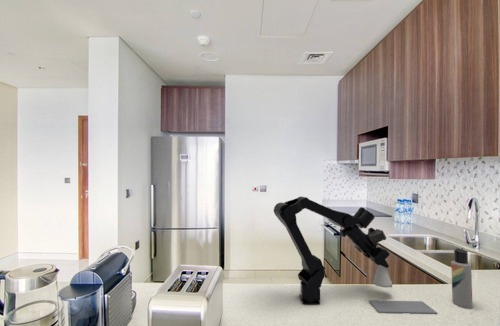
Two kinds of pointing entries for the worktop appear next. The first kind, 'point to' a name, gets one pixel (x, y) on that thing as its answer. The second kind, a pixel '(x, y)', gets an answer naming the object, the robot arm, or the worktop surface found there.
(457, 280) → the lotion bottle
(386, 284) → the flask
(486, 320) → the worktop surface
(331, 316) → the worktop surface
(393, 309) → the charcoal mat
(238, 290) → the worktop surface
